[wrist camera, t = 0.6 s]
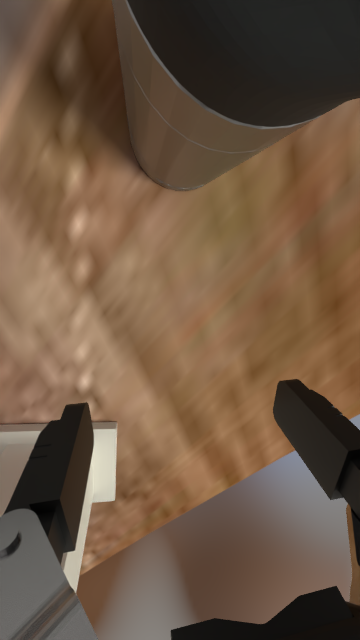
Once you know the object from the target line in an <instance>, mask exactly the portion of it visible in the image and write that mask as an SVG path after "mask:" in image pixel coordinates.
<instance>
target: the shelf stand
mask: <svg viewBox="0 0 360 640" xmlns="http://www.w3.org/2000/svg"><path fill="white" fill-rule="evenodd" d="M48 424H49V423H47V424H5V425H0V517H1V516H2V515H3V514H4V512H5V510H6V508H7V506H8V504H9V502H10V499H11V497H12V495H13V493H14V490H15V488H16V486H17V484H18V481H19V479H20V477H21V474H22V472H23V470H24V468H25V465H26V463H27V461H29V456H30V454H31V452H32V450H33V449H34V445H35V443H36V441H37V438H38V436H39V434H40V432H41V431H42V430H43V429H44V428H45V427H46V426H47V425H48ZM92 426H93V432H94V447H93V453H92V459H91V465H90V470H89V476H88V481H87V487H86V492H85V498H84V504H83V509H82V515H81V520H80V526H79V531H78V537H77V542H76V548H75V551H71V552H66V553H63V557H62V562H61V567H62V569H63V571H64V574H65V576H66V578H67V580H68V582H69V584H70V586H71V588H73V590H74V591H75V593H76V590H77V584H78V579H79V573H80V567H81V562H82V556H83V550H84V545H85V539H86V533H87V527H88V522H89V516H90V510H91V505H92V502H105V501H115V488H116V447H117V422H92Z"/></svg>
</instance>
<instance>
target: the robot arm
mask: <svg viewBox="0 0 360 640" xmlns="http://www.w3.org/2000/svg"><path fill="white" fill-rule="evenodd" d="M112 4H113V9H114V17H115V24H116V32H117V40H118V48H119V55H120V63H121V71H122V79H123V87H124V94H125V102H126V110H127V119H128V126H129V133H130V140H131V145H132V148H133V151H134V154H135V156H136V158H137V160H138V162H139V164H140V166H141V167H142V169H143V170H144V171H145V172H146V174H147V175H148V176H149V177H150V178H151V179H153V180H154V181H155V182H156V183H158V184H159V185H161V186H163V187H165V188H168V189H171V190H175V191H189V190H193V189H197V188H199V187H202V186H204V185H205V184H207V183H208V182H210V181H212V180H214V179H216V178H217V177H219V176H221V175H222V174H224V173H226V172H227V171H229V170H231V169H232V168H234V167H236V166H237V165H239V164H241V163H243V162H244V161H246V160H248V159H249V158H251V157H253V156H254V155H256V154H258V153H259V152H261V151H263V150H264V149H266V148H268V147H269V146H271V145H273V144H274V143H276V142H278V141H279V140H281V139H282V138H284V137H286V136H288V135H289V134H291V133H293V132H294V131H296V130H298V129H299V128H301V127H303V126H304V125H306V124H308V123H309V122H311V121H313V120H315V119H316V118H318V117H319V116H321V115H323V114H325V113H326V112H328V111H330V110H332V109H334V108H335V107H337V106H339V105H341V104H342V103H344V102H346V101H349V100H352V99H357V98H360V0H112ZM273 414H274V418H275V420H276V422H277V424H278V426H279V427H280V428H281V430H282V431H283V433H284V434H285V436H286V437H287V438H288V440H289V441H290V443H291V444H292V446H293V447H294V448H295V450H296V451H297V452H298V454H299V456H300V457H301V458H302V460H303V461H304V463H305V464H306V466H307V467H308V468H309V470H310V471H311V473H312V474H313V475H314V477H315V478H316V479H317V481H318V483H319V484H320V486H321V487H322V488H323V490H324V491H325V493H326V494H327V496H328V497H329V498H330V500H333V499H338V498H343V497H344V499H345V500H346V501H347V503H348V505H347V508H346V514H347V524H348V534H349V544H350V554H351V564H352V582H351V587H350V599H349V600H350V601H349V602H346V601H345V600H344V599H343V597H342V595H341V593H340V591H339V590H338V588H337V586H334V587H331V588H327V589H323V590H319V591H315V592H312V593H308V594H304V595H301V596H299V597H297V598H296V599H295V600H294V601H293V602H291V603H290V604H289V605H288V606H286V607H285V608H284V609H283V610H282V611H280V612H279V613H278V614H277V615H276V616H274V617H273V618H272V619H271V620H270V621H268V622H267V623H265V624H253V623H245V622H238V621H231V620H223V619H216V618H214V619H211V620H207V621H203V622H200V623H196V624H192V625H188V626H185V627H181V628H177V629H173V630H171V640H360V430H359V429H358V428H357V427H356V426H355V425H354V424H353V423H351V422H350V421H349V420H348V419H347V418H346V417H345V416H343V415H342V413H341V412H340V411H339V410H338V409H337V408H334V406H333V405H332V404H331V403H330V402H329V401H328V400H327V399H326V398H325V397H323V396H322V395H320V394H318V393H317V392H315V391H313V390H309V389H308V388H307V387H306V386H305V385H304V384H303V383H302V382H301V381H300V380H298V379H293V380H284V381H280V382H279V383H278V385H277V390H276V396H275V401H274V407H273ZM93 447H94V432H93V426H92V421H91V415H90V410H89V405H88V403H87V402H86V403H78V404H69V405H66V406H65V409H64V411H63V414H62V417H61V419H60V420H55V421H50V423H49V424H48V425H47V426H46V427H45V428H44V429H43V430H42V431H41V432H40V434H39V436H38V438H37V441H36V443H35V445H34V449H33V450H32V452H31V454H30V456H29V461H27V463H26V465H25V468H24V470H23V472H22V474H21V477H20V479H19V481H18V484H17V486H16V488H15V490H14V493H13V495H12V497H11V499H10V502H9V504H8V506H7V508H6V510H5V512H4V514H3V515H2V516H1V517H0V640H98V638H97V636H96V634H95V632H94V630H93V628H92V626H91V624H90V622H89V620H88V617H87V615H86V613H85V611H84V609H83V607H82V605H81V603H80V601H79V599H78V597H77V595H76V593H75V591H74V590H73V588H71V586H70V584H69V582H68V580H67V578H66V576H65V574H64V571H63V569H62V567H61V562H62V557H63V553H66V552H71V551H75V548H76V542H77V537H78V531H79V526H80V520H81V515H82V509H83V504H84V498H85V492H86V487H87V481H88V476H89V470H90V465H91V459H92V453H93Z"/></svg>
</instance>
